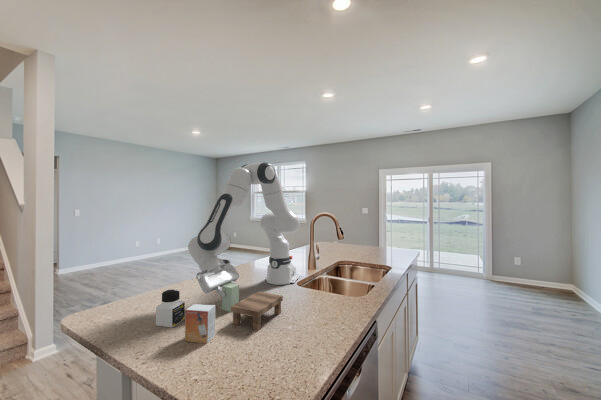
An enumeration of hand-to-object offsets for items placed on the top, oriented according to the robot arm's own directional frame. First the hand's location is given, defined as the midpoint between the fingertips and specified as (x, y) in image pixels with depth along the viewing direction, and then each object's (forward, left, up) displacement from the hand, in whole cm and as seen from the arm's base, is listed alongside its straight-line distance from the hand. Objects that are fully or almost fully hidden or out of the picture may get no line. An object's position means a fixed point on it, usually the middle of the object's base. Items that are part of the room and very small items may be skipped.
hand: (230, 293), depth 114 cm
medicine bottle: (+20, -12, -7) cm, 24 cm away
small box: (+24, +7, -7) cm, 26 cm away
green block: (0, 0, -6) cm, 6 cm away
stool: (+3, +16, -6) cm, 18 cm away
